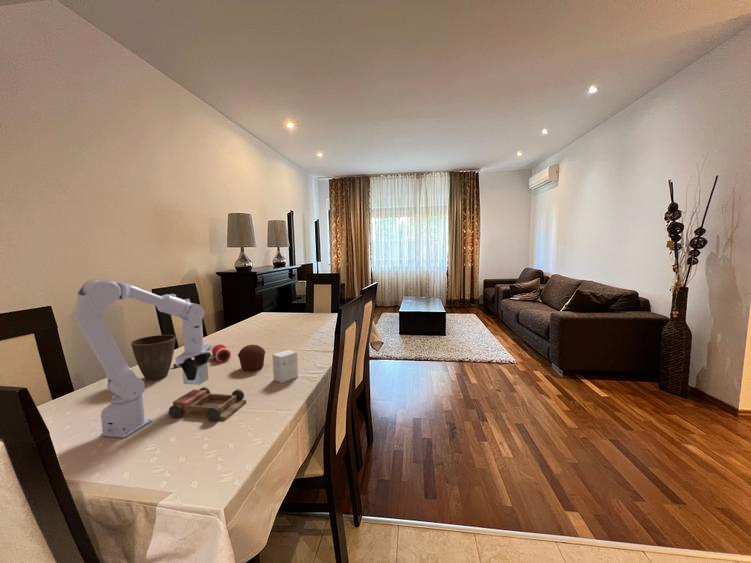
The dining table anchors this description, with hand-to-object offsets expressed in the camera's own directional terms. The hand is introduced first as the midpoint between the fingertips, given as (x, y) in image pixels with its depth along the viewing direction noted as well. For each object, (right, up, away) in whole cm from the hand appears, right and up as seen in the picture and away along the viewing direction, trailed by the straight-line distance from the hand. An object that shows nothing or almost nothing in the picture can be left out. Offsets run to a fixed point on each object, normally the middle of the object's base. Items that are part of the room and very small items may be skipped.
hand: (196, 376), depth 109 cm
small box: (+26, -6, +19) cm, 32 cm away
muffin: (+7, -6, +31) cm, 32 cm away
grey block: (0, -2, 0) cm, 2 cm away
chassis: (+7, -9, -5) cm, 13 cm away
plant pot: (-29, -7, +22) cm, 37 cm away
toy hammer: (-17, -5, +40) cm, 44 cm away
